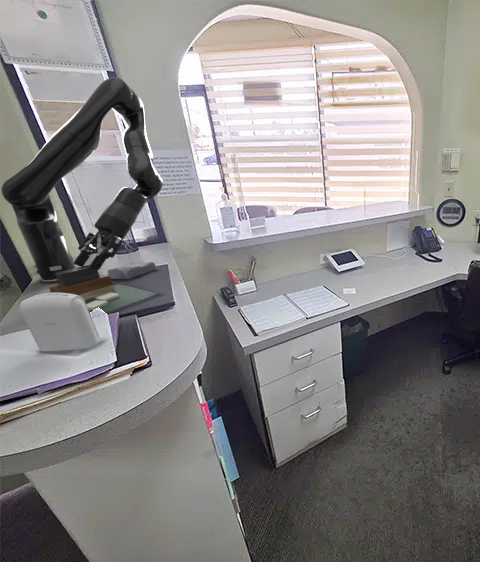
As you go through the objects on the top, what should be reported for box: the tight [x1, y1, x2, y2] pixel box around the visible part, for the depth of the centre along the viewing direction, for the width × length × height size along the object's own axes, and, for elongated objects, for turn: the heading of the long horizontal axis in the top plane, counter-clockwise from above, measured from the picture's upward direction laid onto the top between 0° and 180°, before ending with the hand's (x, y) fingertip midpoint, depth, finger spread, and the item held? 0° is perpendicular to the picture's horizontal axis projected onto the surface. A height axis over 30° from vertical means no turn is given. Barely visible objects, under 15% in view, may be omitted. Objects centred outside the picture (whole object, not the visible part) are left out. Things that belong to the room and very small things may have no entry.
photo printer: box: [19, 292, 101, 352], centre depth 63 cm, size 10×4×12 cm, turn 96°
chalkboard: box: [85, 283, 159, 314], centre depth 87 cm, size 20×20×1 cm
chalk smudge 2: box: [95, 292, 120, 301], centre depth 88 cm, size 4×4×1 cm
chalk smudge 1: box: [86, 300, 108, 310], centre depth 83 cm, size 4×4×1 cm
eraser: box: [48, 264, 115, 301], centre depth 88 cm, size 5×12×8 cm, turn 155°
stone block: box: [107, 260, 157, 280], centre depth 109 cm, size 12×5×10 cm
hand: (85, 266), depth 88 cm, fingers open, 8 cm apart
